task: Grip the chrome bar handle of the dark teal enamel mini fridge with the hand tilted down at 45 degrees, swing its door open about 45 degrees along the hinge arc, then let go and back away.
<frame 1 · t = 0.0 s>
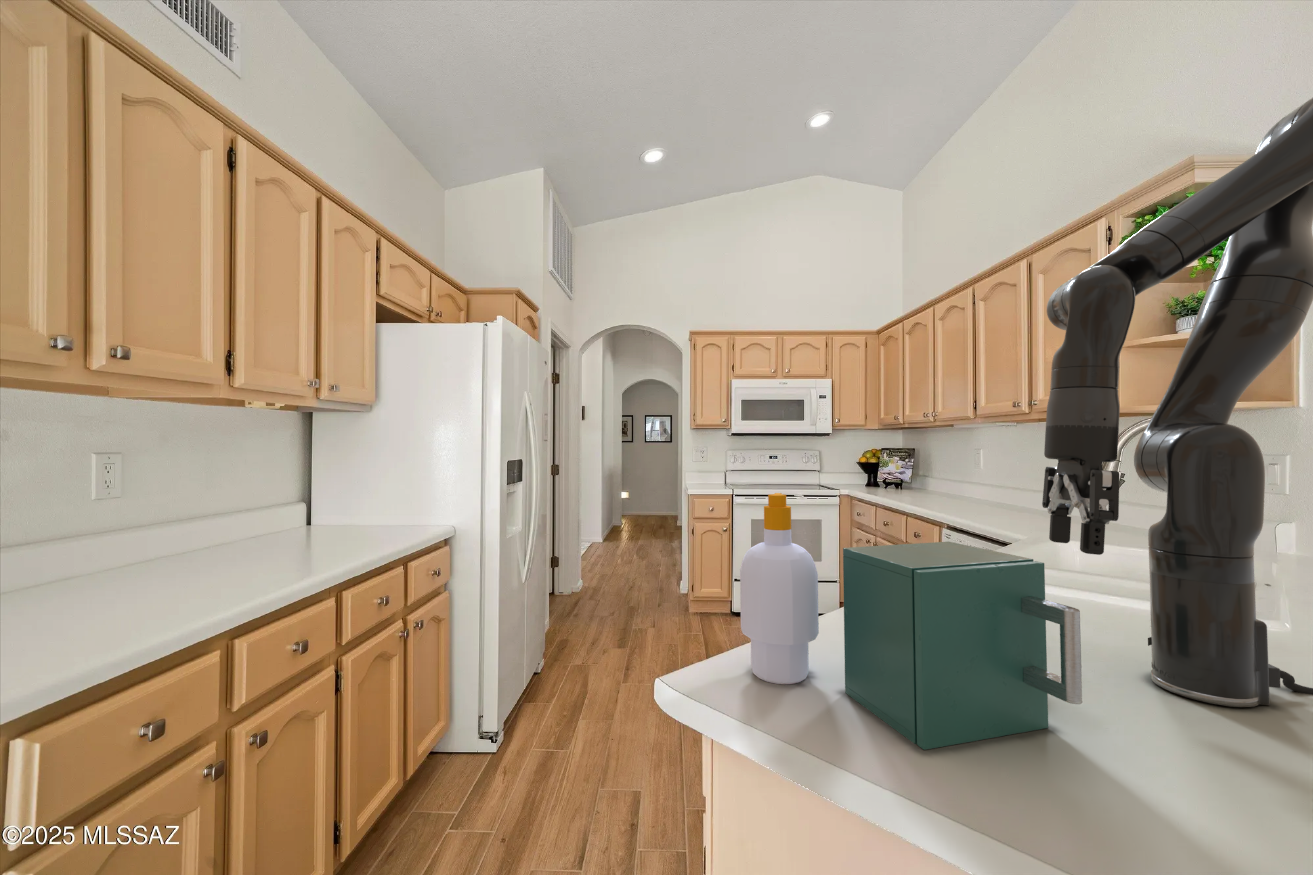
hand: (1074, 547, 70), 17 cm above the table, tool pointing down, fingers open, 8 cm apart
soap bottle: (779, 675, 72), on the table
mini fridge: (935, 707, 62), on the table
fridge door: (1005, 660, 53), point 9 cm above the table, hinge at 0.0°
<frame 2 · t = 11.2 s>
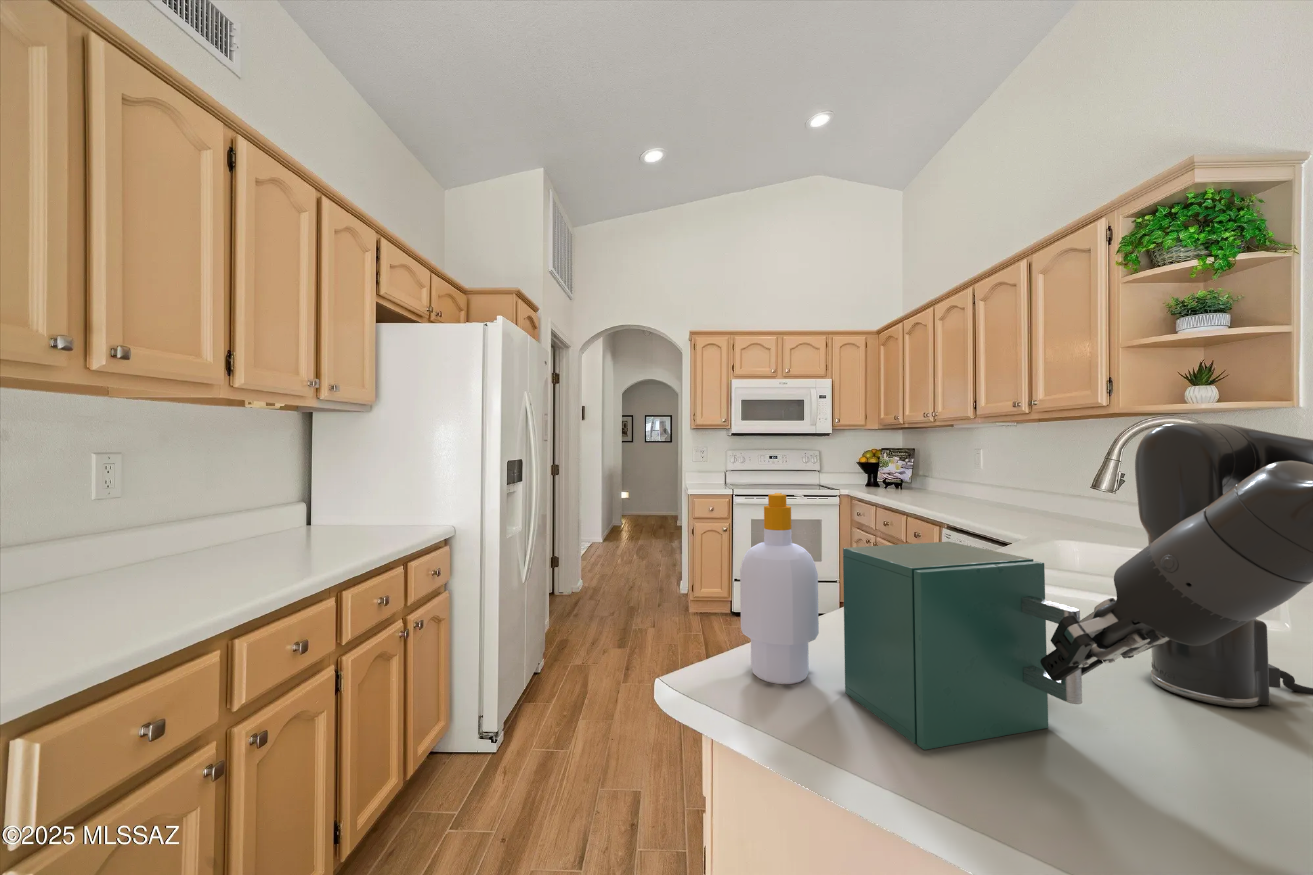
hand: (1058, 669, 54), 8 cm above the table, tool tilted 45°, fingers closed on fridge door
fridge door: (1005, 660, 53), point 9 cm above the table, hinge at 0.0°, touching gripper
everything else where it was.
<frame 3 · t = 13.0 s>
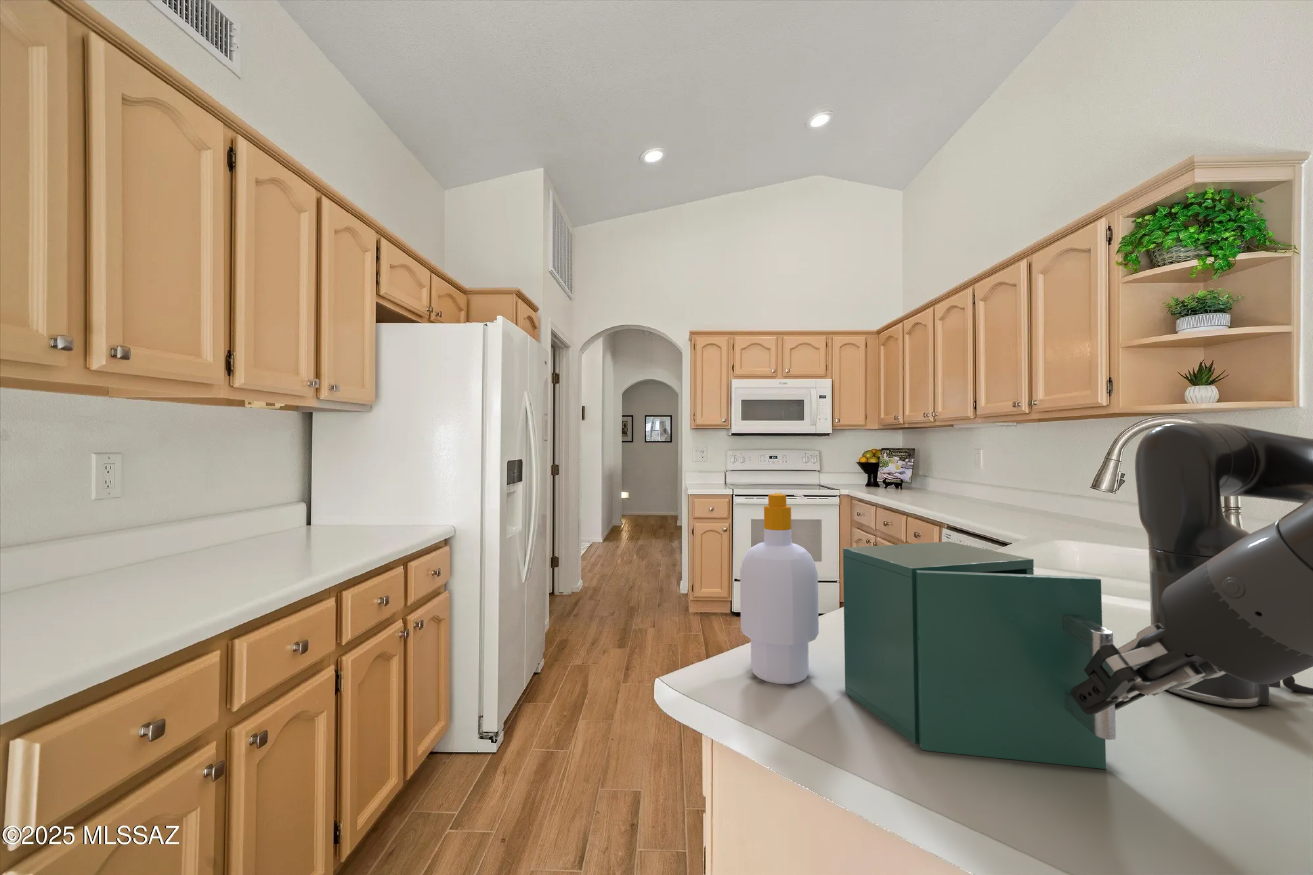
hand: (1091, 700, 47), 8 cm above the table, tool tilted 45°, fingers closed on fridge door
fridge door: (1019, 676, 50), point 9 cm above the table, hinge at 26.9°, touching gripper
everything else where it was.
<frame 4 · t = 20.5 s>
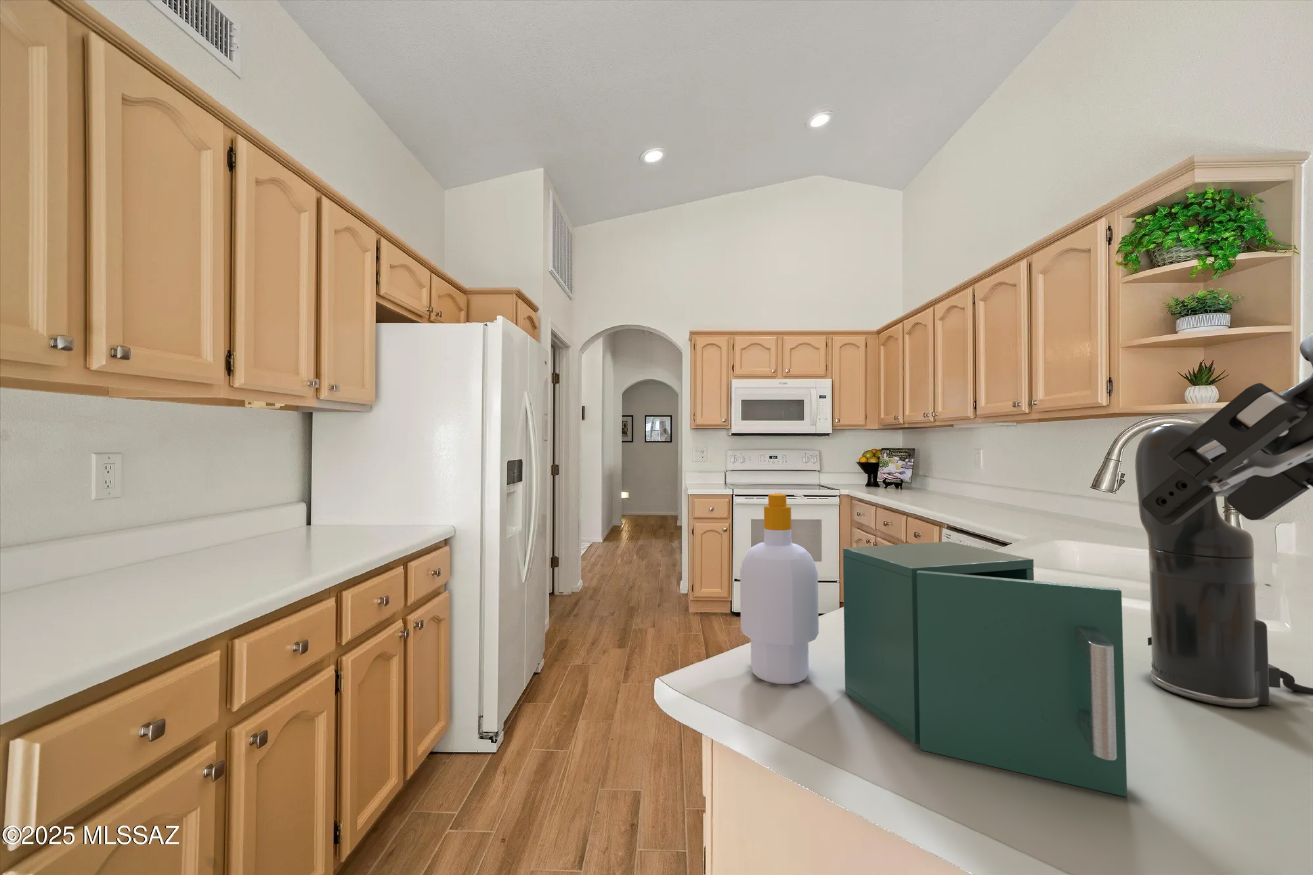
hand: (1199, 512, 37), 26 cm above the table, tool tilted 45°, fingers open, 8 cm apart
fridge door: (1017, 685, 48), point 9 cm above the table, hinge at 42.3°
everything else where it was.
at the end: fridge door at +42° (first picture: +0°) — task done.
